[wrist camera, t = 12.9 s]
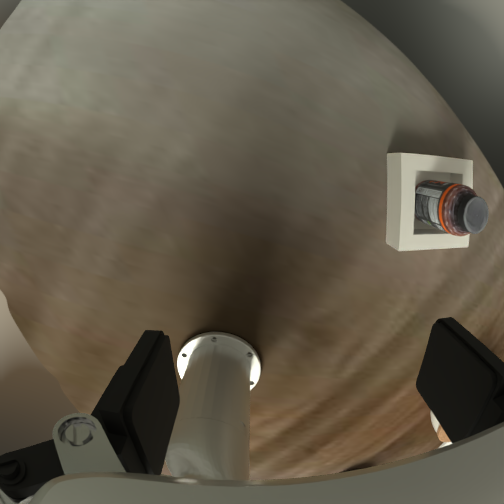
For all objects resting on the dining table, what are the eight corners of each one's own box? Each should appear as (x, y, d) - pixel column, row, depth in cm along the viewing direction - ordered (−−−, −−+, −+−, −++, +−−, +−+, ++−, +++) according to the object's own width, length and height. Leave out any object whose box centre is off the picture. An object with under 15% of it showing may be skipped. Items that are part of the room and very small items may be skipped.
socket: (452, 239, 38) (468, 247, 34) (385, 242, 38) (398, 251, 34) (455, 159, 35) (472, 160, 31) (386, 153, 35) (400, 152, 31)
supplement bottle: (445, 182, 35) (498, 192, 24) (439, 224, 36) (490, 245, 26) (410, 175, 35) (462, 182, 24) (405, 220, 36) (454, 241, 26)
